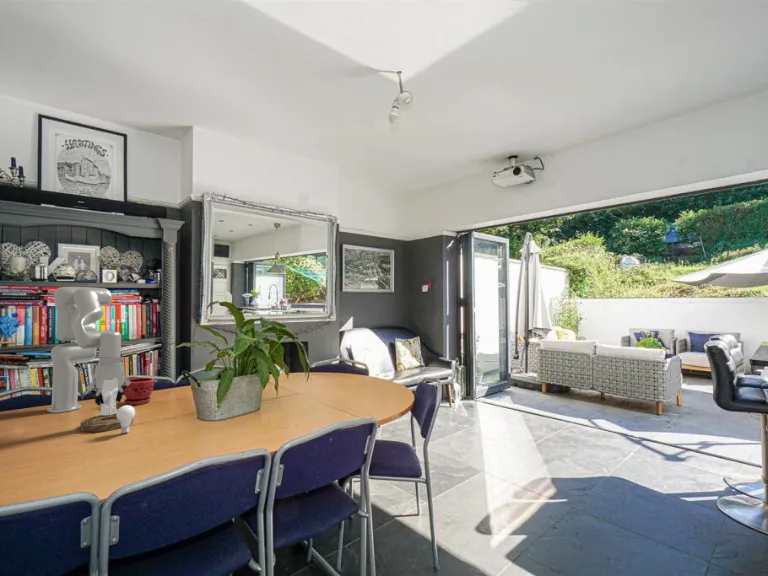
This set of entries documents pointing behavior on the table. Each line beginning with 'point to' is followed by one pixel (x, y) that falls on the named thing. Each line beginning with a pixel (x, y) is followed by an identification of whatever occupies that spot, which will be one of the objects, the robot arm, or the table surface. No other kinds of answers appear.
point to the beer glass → (109, 397)
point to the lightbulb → (125, 417)
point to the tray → (101, 423)
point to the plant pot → (138, 391)
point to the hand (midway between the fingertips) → (108, 402)
